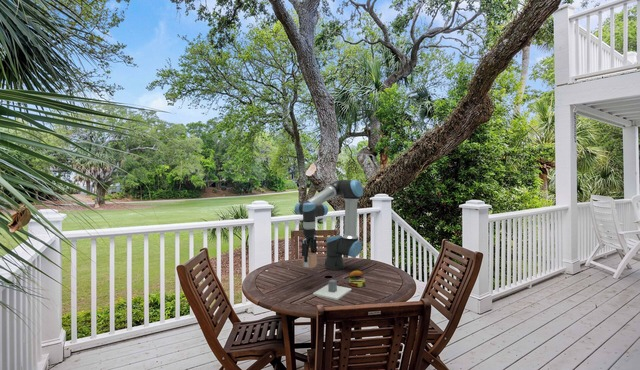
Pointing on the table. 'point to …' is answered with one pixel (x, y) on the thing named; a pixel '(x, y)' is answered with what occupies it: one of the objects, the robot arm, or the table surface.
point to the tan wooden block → (311, 260)
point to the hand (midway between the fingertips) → (309, 265)
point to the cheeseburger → (356, 279)
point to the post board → (334, 294)
